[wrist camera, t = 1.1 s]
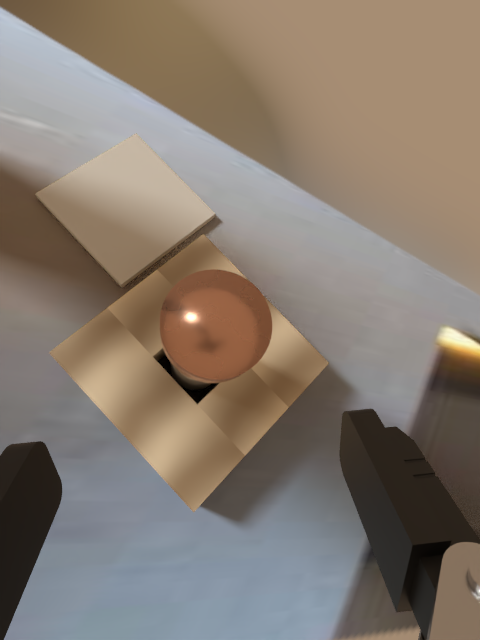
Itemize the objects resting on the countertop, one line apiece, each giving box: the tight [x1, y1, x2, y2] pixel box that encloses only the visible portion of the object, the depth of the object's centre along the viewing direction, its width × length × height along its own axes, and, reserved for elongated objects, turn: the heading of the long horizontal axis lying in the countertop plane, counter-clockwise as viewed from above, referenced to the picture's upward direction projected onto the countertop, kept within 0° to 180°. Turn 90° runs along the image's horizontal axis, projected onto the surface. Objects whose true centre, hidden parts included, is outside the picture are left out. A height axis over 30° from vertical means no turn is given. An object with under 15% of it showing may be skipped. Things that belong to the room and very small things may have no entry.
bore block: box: [49, 234, 329, 512], centre depth 31 cm, size 16×16×4 cm
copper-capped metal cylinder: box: [160, 269, 272, 390], centre depth 26 cm, size 6×6×15 cm
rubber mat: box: [35, 134, 215, 288], centre depth 36 cm, size 12×12×1 cm
